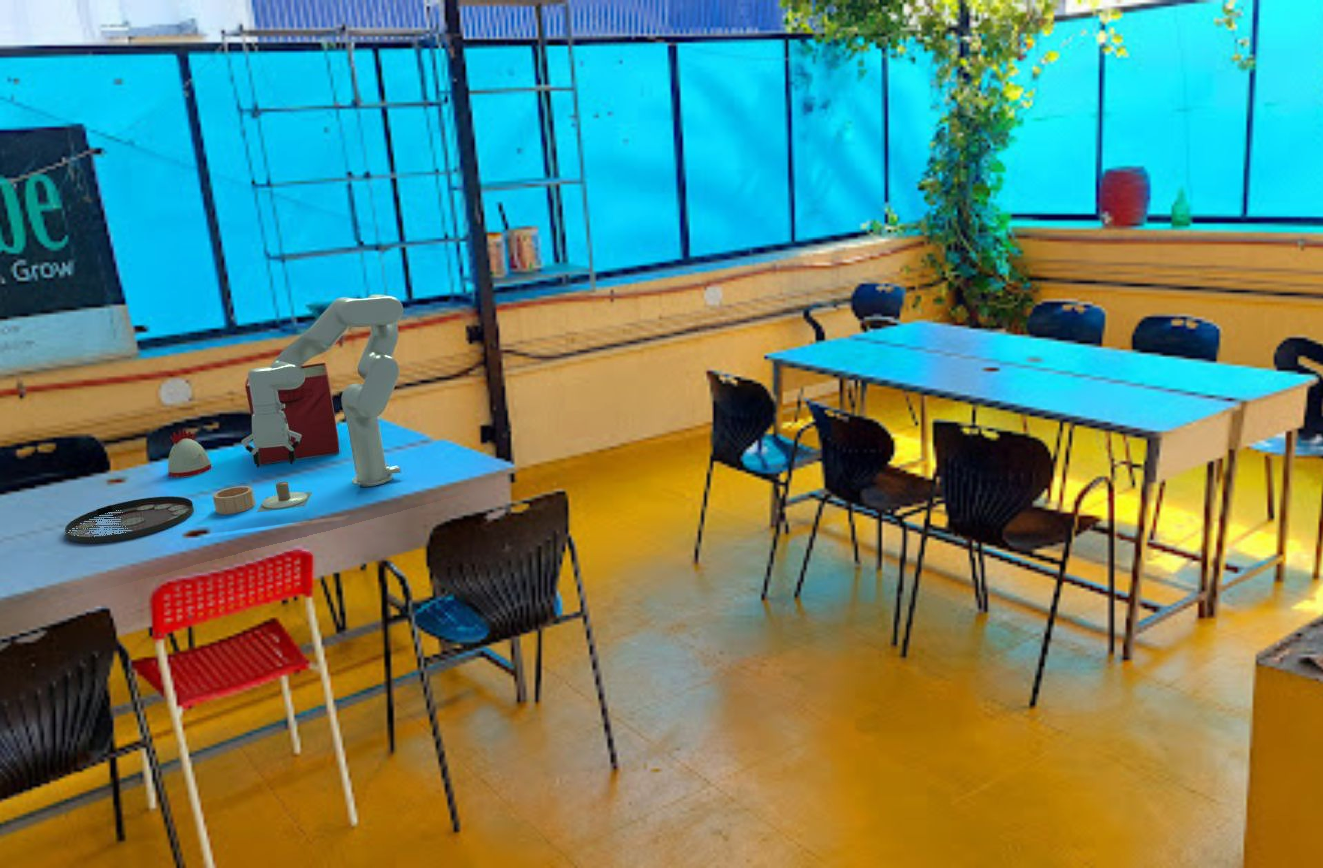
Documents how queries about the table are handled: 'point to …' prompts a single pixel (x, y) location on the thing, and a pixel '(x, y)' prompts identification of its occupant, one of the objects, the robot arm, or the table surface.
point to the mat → (286, 507)
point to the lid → (284, 497)
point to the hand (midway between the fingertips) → (275, 464)
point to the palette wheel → (132, 518)
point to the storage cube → (306, 417)
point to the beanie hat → (187, 457)
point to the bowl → (234, 500)
